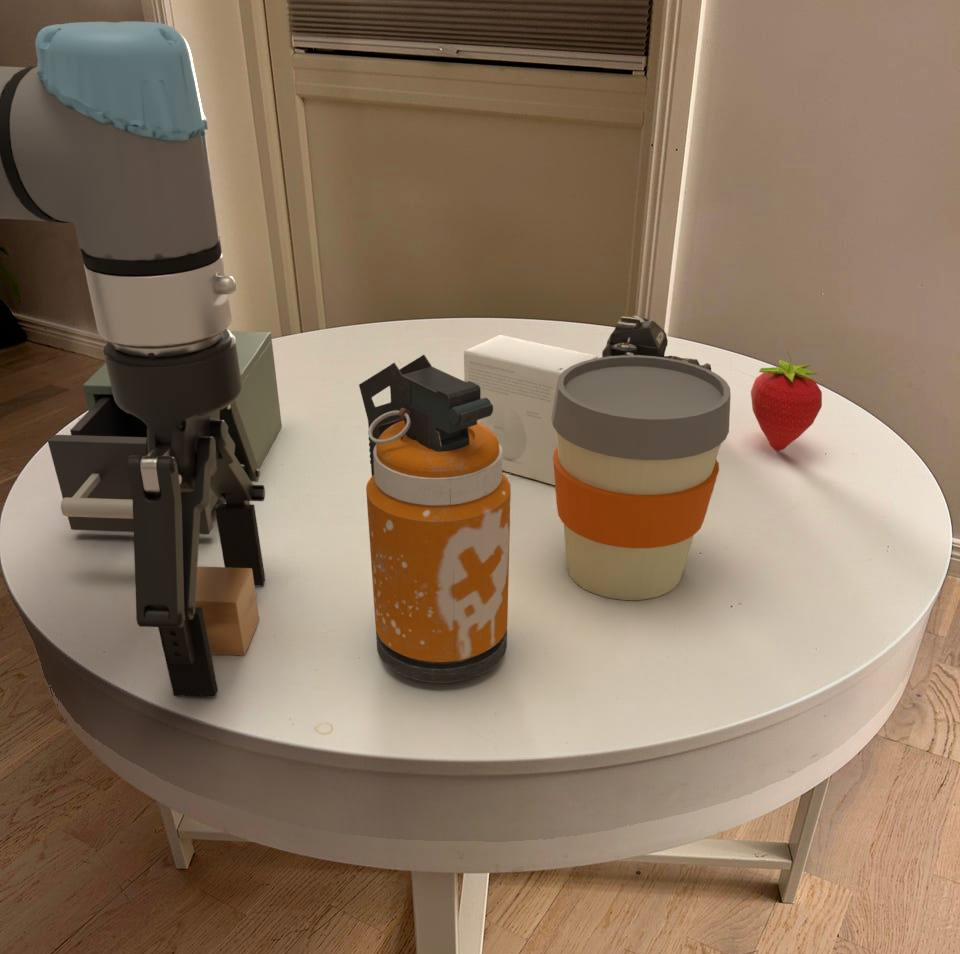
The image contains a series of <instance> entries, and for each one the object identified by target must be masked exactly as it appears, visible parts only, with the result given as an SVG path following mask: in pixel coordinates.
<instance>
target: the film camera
mask: <svg viewBox="0 0 960 954" xmlns="http://www.w3.org/2000/svg"><path fill="white" fill-rule="evenodd" d="M668 342H669V340H668V335H667V332H666V331H665V330H664V329H663V328H662V327H661V326H660V325H659V324H658V323H657V322H656V321H655V320H649V318H647V317H644V316H639V315H631V316H621V317H620V319H618V321H617V322H616V325H615V327H614V330H613V331H612V333H610V334H609V337H608V339H607V341H606V345H605V347H604V348H603V349H602V352H601V357H608V356H621V355H641V356H655V357H663V358H670V359H675V360H680V361H685V362H688V363H692V364H695V365H698V366H701V367H703V368H706V369H708V370H710V371H712V366H711V364H710V363H709V362H708V363H707V362H706V363H705V364H700V361H698V359H697V358H688V357H680V356H676V355H665V353H666V351H667V347H668V345H669V344H668Z"/></svg>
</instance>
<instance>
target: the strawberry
mask: <svg viewBox="0 0 960 954" xmlns="http://www.w3.org/2000/svg"><path fill="white" fill-rule="evenodd" d="M785 351H786V353H787V355H788V357H789V362H787V361H785V360H782V359H779V361H778V363H779V366H775V367H774V366H773V367H761V368H760V370H758V373H760V375H758V376H756V378H755V380H754V382H753V384H752V386H751V390H750V399H751V407H752V412H753V414H754V416H755V419H756V421H757V424H758V425H759V428H760V430H761V431H762V433H763V434H764V436H765V438H766V439H767V441H768V444H769V446H770V447H771V449H772V450H774V451H776V452H781V451H783V450H785V449H786V448H787V447H788V446H789V445H790V444H791V443H794V441H796V440H797V439H799V438H800V437H801V436H802V435H803V434H804V433H805V432H806V431H807V430H808V429H809V428H810V427H811V426H812V425H813V424H814V422H815V420H816V418H817V416H818V415H819V412H820V411H821V409H822V407H823V393H822V390H821V389H820V387H819V385H818V384H817V382H816V381H815V380H814V379H813V378H812V377H810V376H809V375H818V374H819V373H818V372H815V371H812V370H809V369H807V368H809V367H811V364H810V363H809V364H799V365H797V364H791V363H792V356H791V354H790V353H789V350H788V348H785Z"/></svg>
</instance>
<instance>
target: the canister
mask: <svg viewBox="0 0 960 954" xmlns="http://www.w3.org/2000/svg"><path fill="white" fill-rule="evenodd" d="M358 387H359V391H360V394H361V398H362V402H363V403H362V404H363V407H364V410H365V414H366V418H367V425H368V429H367V433H368V434H367V435H368V441H369V442H368V447H369V449H368V450H369V458H370V460H369V463H370V473H371V477H370V478H369V480H368V481H367V483H366V487H365V490H366V491H365V492H366V507H367V517H368V518H367V521H368V535H369V550H370V551H369V552H370V565H371V579H372V580H371V581H372V594H373V608H374V610H373V611H374V622H375V623H374V624H375V636H376V637H375V638H376V651H377V653H378V656H379V658H380V659H381V661H382V663H384V664H385V665H386V666H387V667H388V669H391V670H392V671H393V672H395V673H397V674H399V675H401V676H402V677H406V678H407V679H408V678H409V679H412V680H416V681H420V682H427V683H442V684H443V683H455V682H460V681H466V680H469V679H473V678H475V677H478V676H480V675H482V674H483V675H484V674H485V673H486V672H488V671H490V670H492V669H493V668H494V667H495V666H496V665H497V664H499V663H500V661H501V660H502V659H503V657H504V656H505V654H506V651H507V647H508V618H509V617H508V614H509V613H508V611H509V610H508V609H509V576H510V575H509V574H510V573H509V572H510V571H509V570H510V567H509V566H510V535H511V532H510V531H511V495H512V494H511V493H512V489H511V488H512V484H511V481H510V480H509V478H508V477H507V475H506V474H505V473H504V472H503V470H502V447H501V445H500V443H499V442H498V439H497V437H496V435H495V434H494V433H493V432H492V430H490V429H489V428H488V427H486V426H485V425H483V424H481V423H479V422H477V420H479V419H483V418H486V417H489V416H491V414H492V412H493V404H491V402H490V400H489V399H488V398H482V399H481V389H480V387H479V385H477V384H475V383H473V382H471V381H468V382H465V381H464V380H462V379H460V378H459V377H456V376H454V375H451V374H449V373H447V372H445V371H443V370H441V369H439V368H437V367H435V366H432V364H431V363H430V361H429V359H428V358H427V356H426V354H422V355H421V356H419V357H418V358H416V359H414V360H413V361H410V362H409V363H407V364H406V365H404V366H402V367H401V368H400V369H399V367H398V365H397V364H396V362H392V363H391V364H390V365H388V366H387V367H385V368H383V369H381V370H380V371H378V372H377V373H375V374H373V375H372V376H371V377H369V378H367V379H366V380H364V381H362V382H361V383H359V384H358ZM387 388H389V391H390V392H389V393H390V402H387V403H385V404H381V405H378V406H376V405H375V403H374V400H373V397H375V396H376V395H378V394H379V393H381V392H383V391H384V390H385V389H387Z"/></svg>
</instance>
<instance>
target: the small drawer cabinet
mask: <svg viewBox="0 0 960 954" xmlns="http://www.w3.org/2000/svg"><path fill="white" fill-rule="evenodd" d="M229 331H230V333H232V334H233V335H234V337H235V340H236V347H237V354H238V360H239V367H240V374H241V381H242V390H241V393H240V395H239V396H238V398H237V399H236V405H237V407H238V410H239V413H240V416H241V419H242V422H243V425H244V427H245V430H246V433H247V436H248V439H249V442H250V445H251V447H252V450H253V453H254V456H255V459H256V462H257V465H258V468H259V469H260V468H261V465H262V464H263V462H264V460H265V458H266V456H267V455H268V453H269V451H270V449H271V447H272V446H273V444H274V442H275V440H276V439H277V436H278V435H279V432H280V431H281V428H282V427H283V425H282V424H283V423H282V415H281V406H280V399H279V398H280V397H279V390H278V382H277V372H276V364H275V356H274V347H273V340H272V333H271V331H256V330H255V331H254V330H252V331H251V330H229ZM82 388H83V393H84V399H85V402H86V406H87V412H88V411H89V410H90V409H91V408H92V407H93V406H94V405H95V404H96V403H97V402H98V401H99V400H100V399H101V397H102V396H103V395H104V394H106V395H113V393H112V388H111V384H110V379H109V375H108V370H107V366H106V362H105V363H104V364H103V365H102V366H100V367H99V369H98V370H97V371H95V372H94V373H93V375H92V376H90V378H88V380H87V381H85V382H84V384H82ZM240 465H243V464H240Z"/></svg>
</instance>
